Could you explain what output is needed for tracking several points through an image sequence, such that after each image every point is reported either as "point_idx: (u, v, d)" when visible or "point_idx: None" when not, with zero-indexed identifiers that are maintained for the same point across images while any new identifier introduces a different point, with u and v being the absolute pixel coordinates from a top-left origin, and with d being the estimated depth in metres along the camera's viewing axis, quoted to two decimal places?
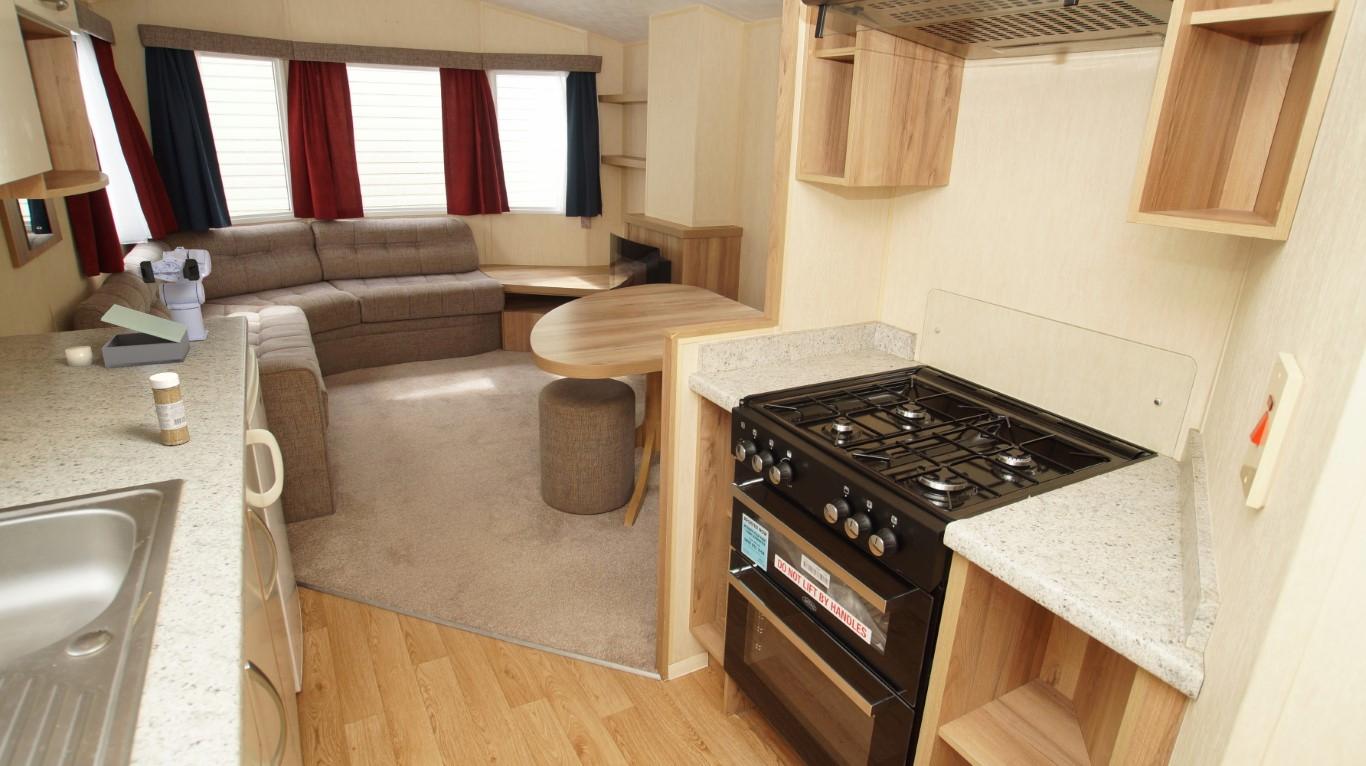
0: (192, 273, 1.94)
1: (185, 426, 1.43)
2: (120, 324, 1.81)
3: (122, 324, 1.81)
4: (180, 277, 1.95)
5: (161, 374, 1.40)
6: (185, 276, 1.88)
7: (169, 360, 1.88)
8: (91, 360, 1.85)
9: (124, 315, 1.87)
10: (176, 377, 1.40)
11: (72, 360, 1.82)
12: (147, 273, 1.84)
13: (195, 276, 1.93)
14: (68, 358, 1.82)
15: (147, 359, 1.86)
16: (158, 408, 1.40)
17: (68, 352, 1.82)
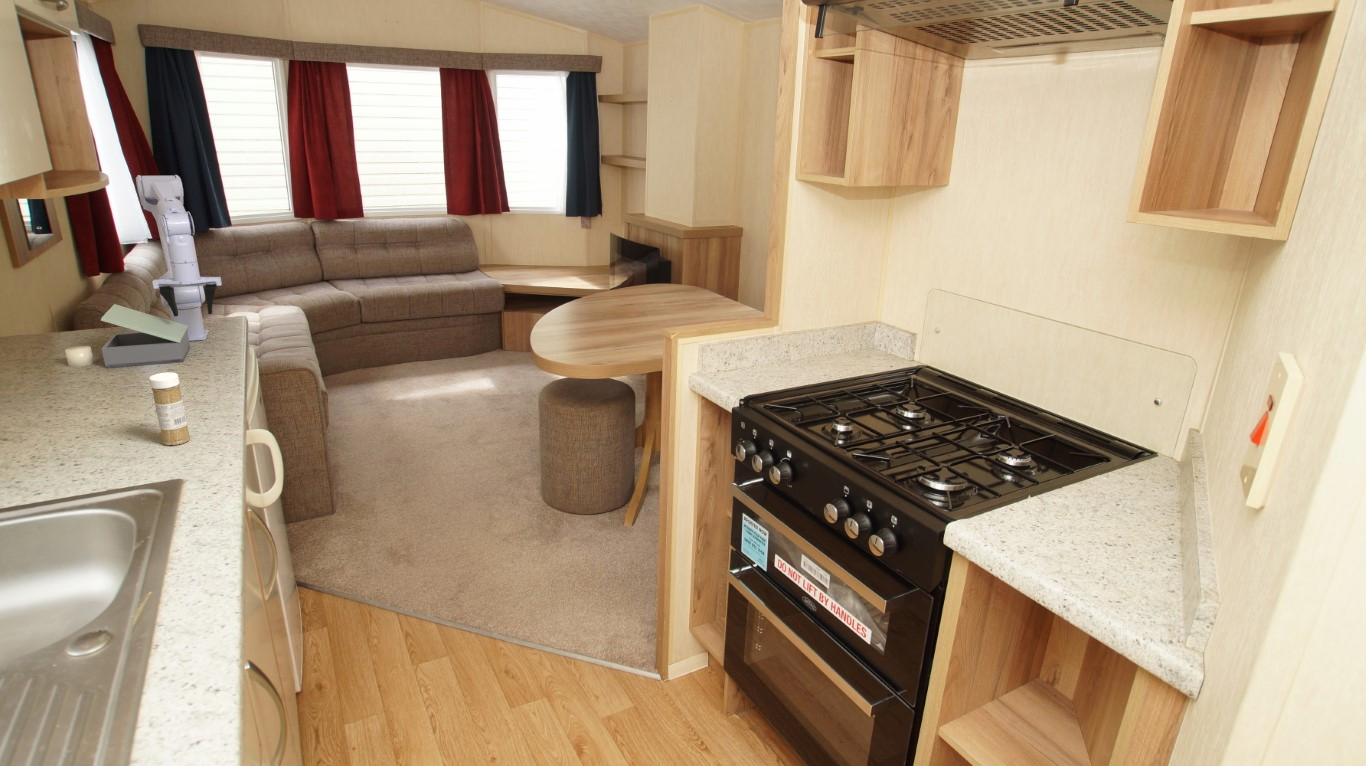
0: None
1: (185, 426, 1.43)
2: (120, 324, 1.81)
3: (122, 324, 1.81)
4: None
5: (161, 374, 1.40)
6: None
7: (169, 360, 1.88)
8: (91, 360, 1.85)
9: (124, 315, 1.87)
10: (176, 377, 1.40)
11: (72, 360, 1.82)
12: None
13: (214, 292, 1.95)
14: (68, 358, 1.82)
15: (147, 359, 1.86)
16: (158, 408, 1.40)
17: (68, 352, 1.82)
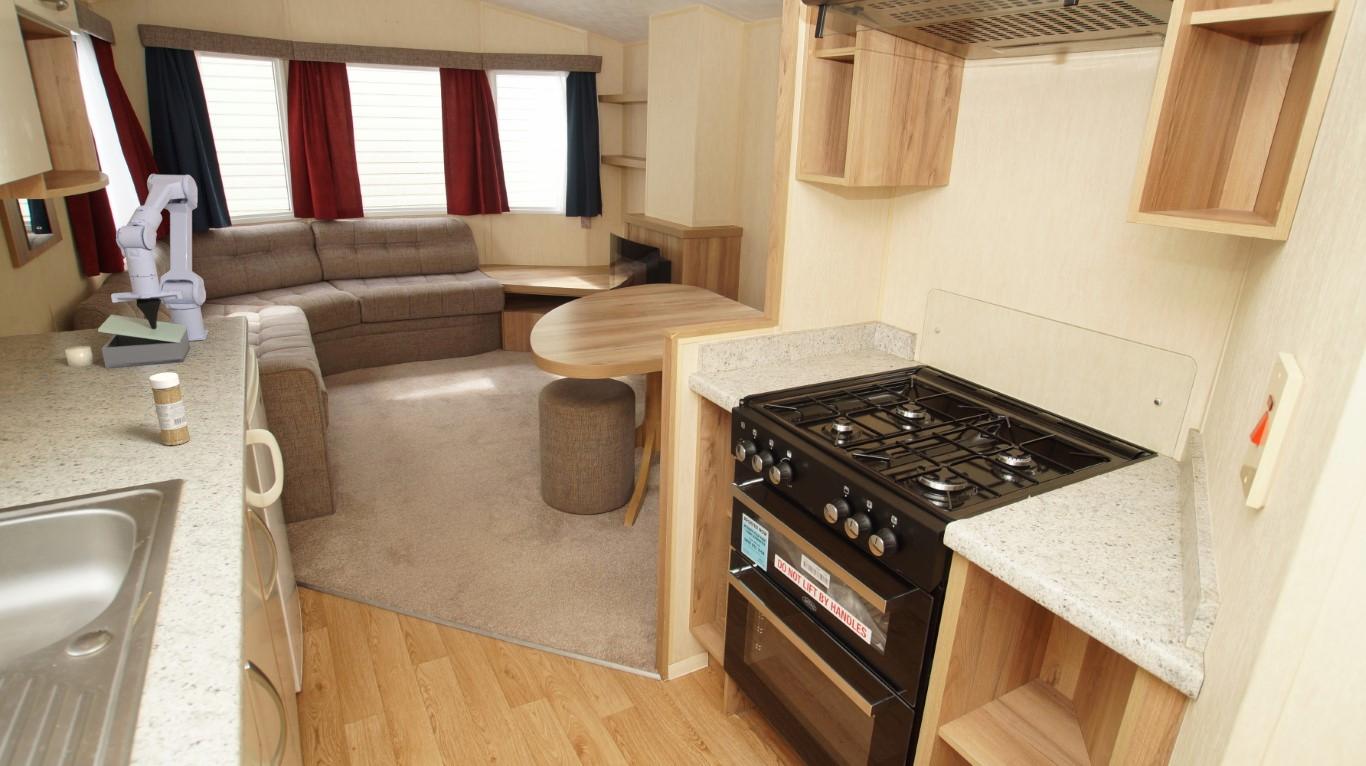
0: None
1: (185, 426, 1.43)
2: (118, 332, 1.81)
3: (120, 332, 1.81)
4: None
5: (161, 374, 1.40)
6: None
7: (169, 360, 1.88)
8: (91, 360, 1.85)
9: (122, 323, 1.87)
10: (176, 377, 1.40)
11: (72, 360, 1.82)
12: None
13: None
14: (68, 358, 1.82)
15: (147, 359, 1.86)
16: (158, 408, 1.40)
17: (68, 352, 1.82)
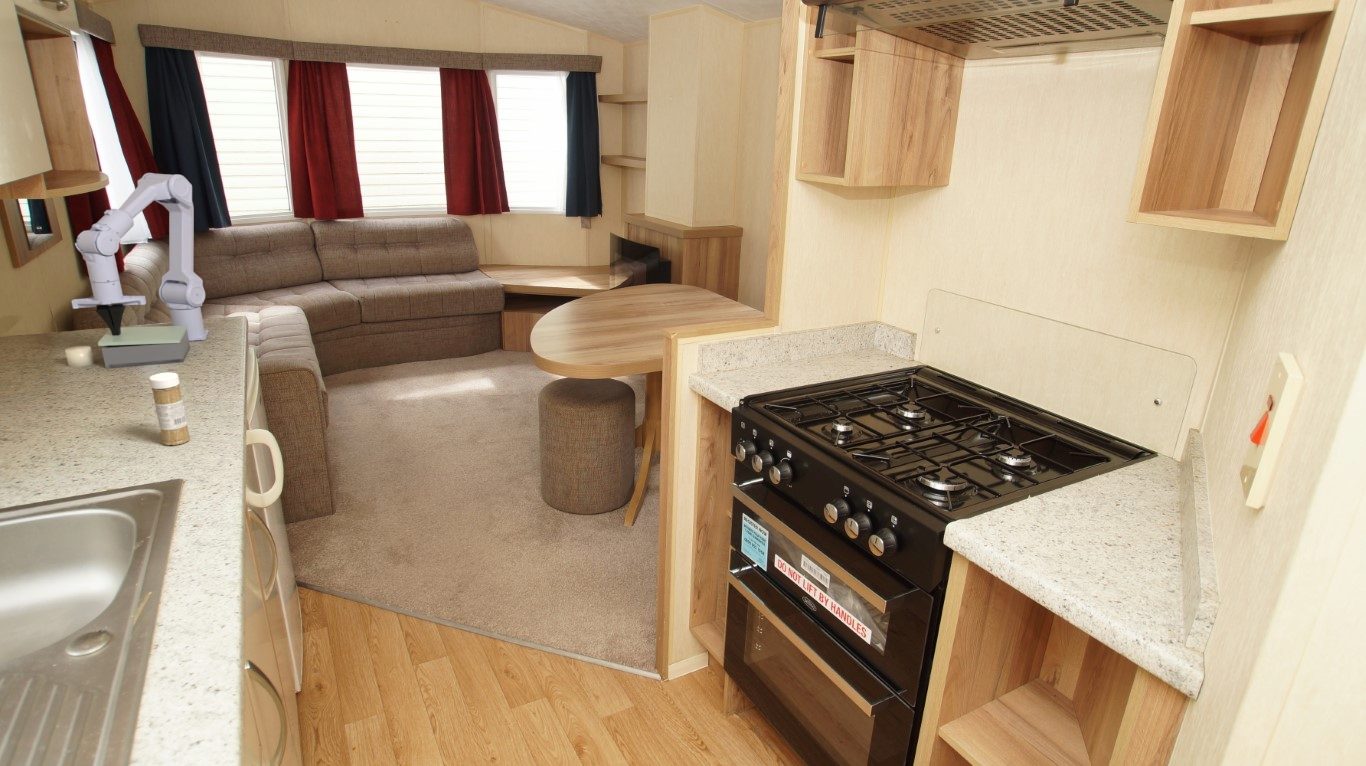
0: None
1: (185, 426, 1.43)
2: (117, 343, 1.82)
3: (119, 343, 1.82)
4: None
5: (161, 374, 1.40)
6: None
7: (169, 360, 1.88)
8: (91, 360, 1.85)
9: (121, 334, 1.88)
10: (176, 377, 1.40)
11: (72, 360, 1.82)
12: None
13: (122, 312, 1.88)
14: (68, 358, 1.82)
15: (147, 359, 1.86)
16: (158, 408, 1.40)
17: (68, 352, 1.82)
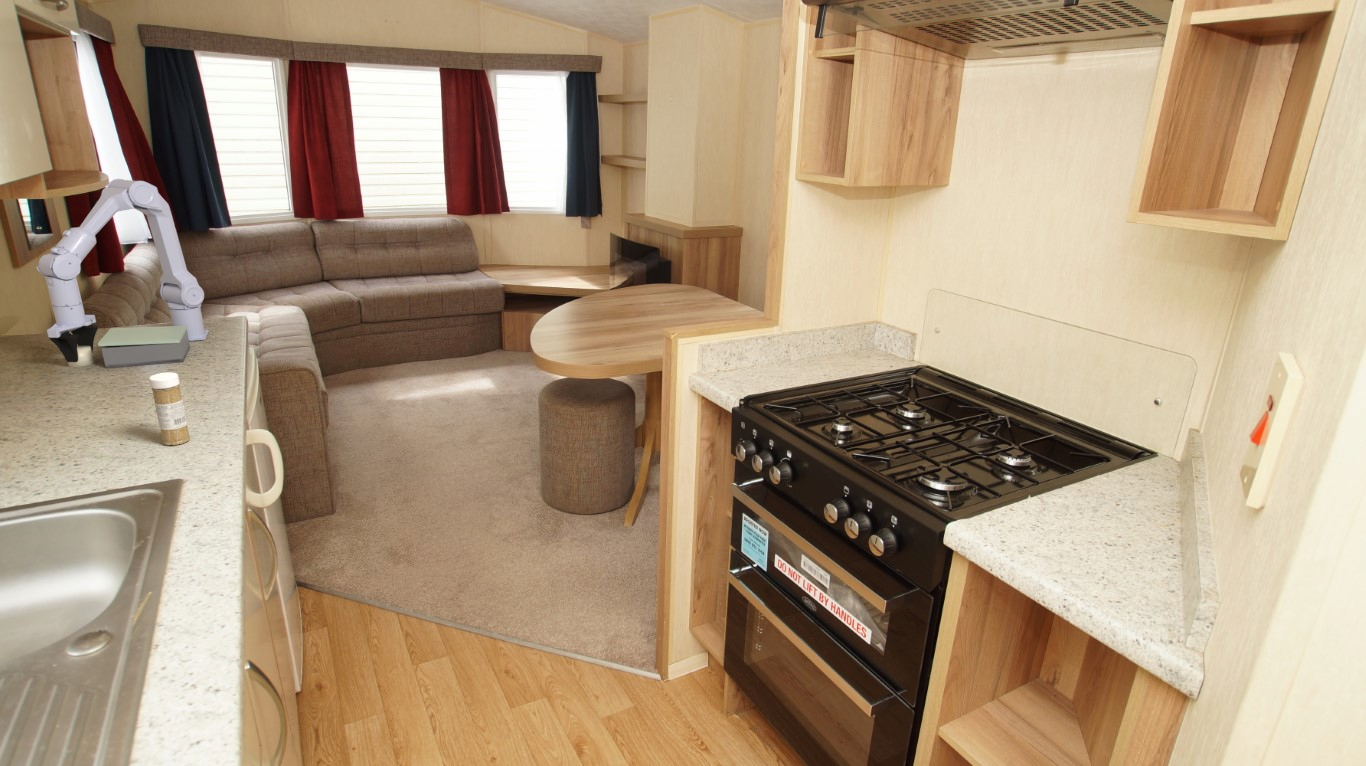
0: None
1: (185, 426, 1.43)
2: (117, 343, 1.82)
3: (119, 343, 1.82)
4: None
5: (161, 374, 1.40)
6: None
7: (169, 360, 1.88)
8: (91, 360, 1.85)
9: (121, 334, 1.88)
10: (176, 377, 1.40)
11: None
12: None
13: None
14: None
15: (147, 359, 1.86)
16: (158, 408, 1.40)
17: None
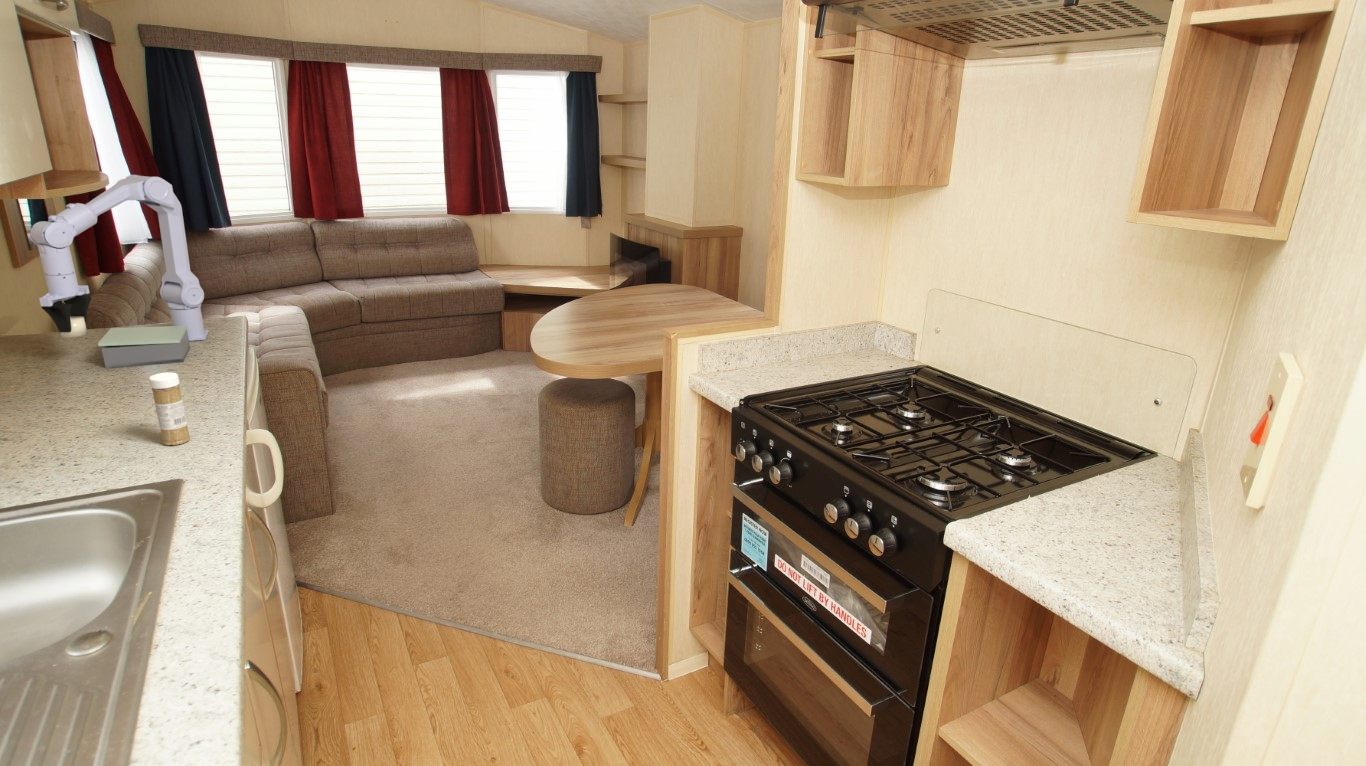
0: None
1: (185, 426, 1.43)
2: (117, 343, 1.82)
3: (119, 343, 1.82)
4: None
5: (161, 374, 1.40)
6: None
7: (169, 360, 1.88)
8: (84, 330, 1.83)
9: (121, 334, 1.88)
10: (176, 377, 1.40)
11: None
12: None
13: None
14: None
15: (147, 359, 1.86)
16: (158, 408, 1.40)
17: None
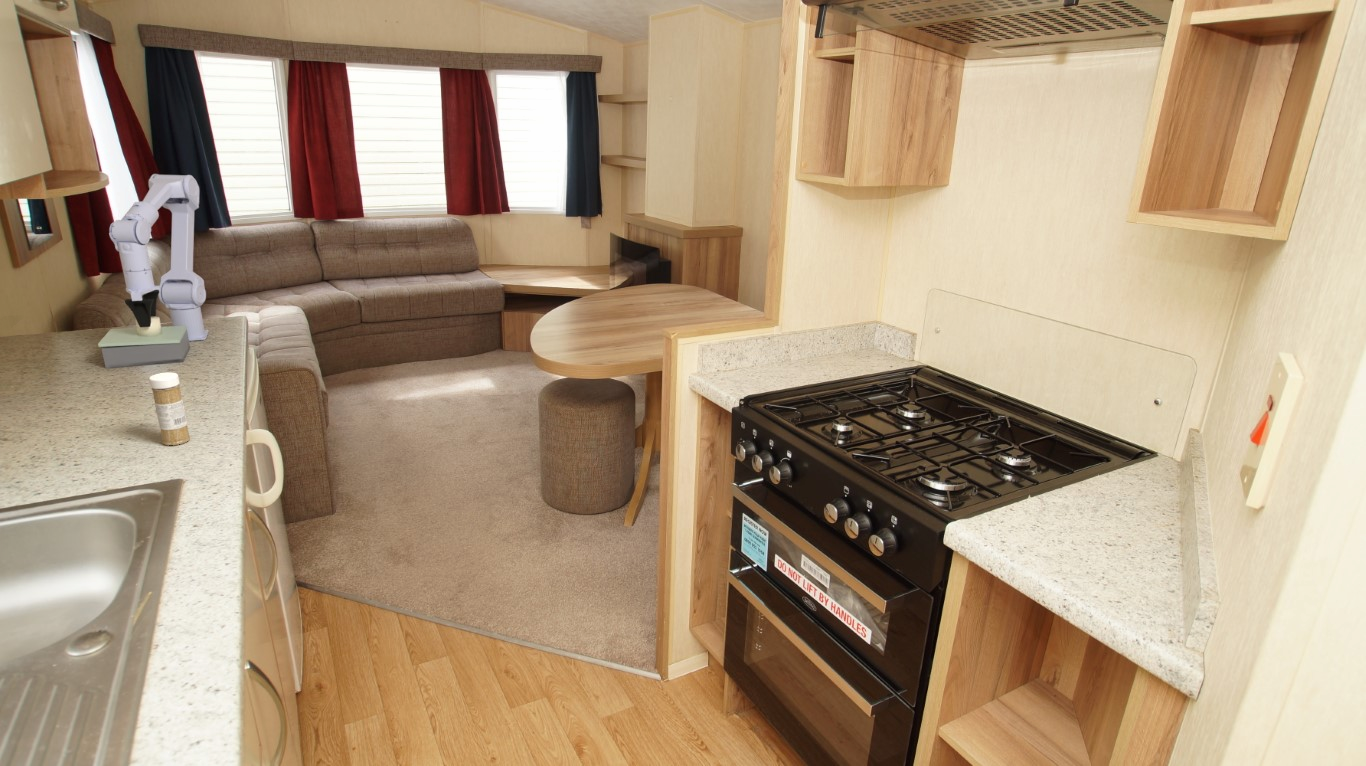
0: (142, 294, 1.91)
1: (185, 426, 1.43)
2: (118, 344, 1.82)
3: (119, 343, 1.82)
4: None
5: (161, 374, 1.40)
6: None
7: (169, 360, 1.88)
8: None
9: (121, 335, 1.88)
10: (176, 377, 1.40)
11: (146, 329, 1.88)
12: None
13: None
14: (141, 328, 1.87)
15: (147, 359, 1.86)
16: (158, 408, 1.40)
17: None
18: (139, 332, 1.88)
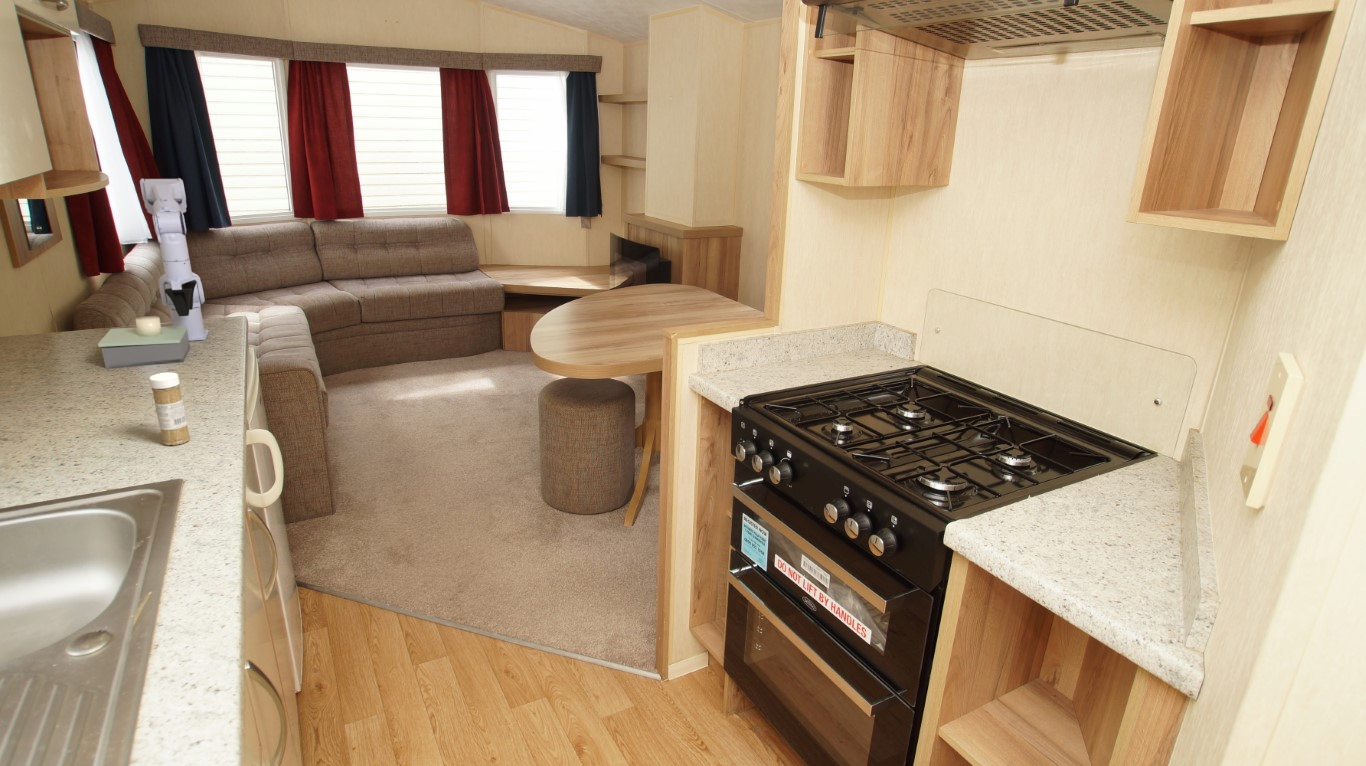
0: None
1: (185, 426, 1.43)
2: (118, 344, 1.82)
3: (119, 343, 1.82)
4: None
5: (161, 374, 1.40)
6: None
7: (169, 360, 1.88)
8: None
9: (121, 335, 1.88)
10: (176, 377, 1.40)
11: (146, 330, 1.88)
12: (187, 315, 1.91)
13: None
14: (141, 328, 1.87)
15: (147, 359, 1.86)
16: (158, 408, 1.40)
17: (142, 322, 1.87)
18: (139, 332, 1.88)
